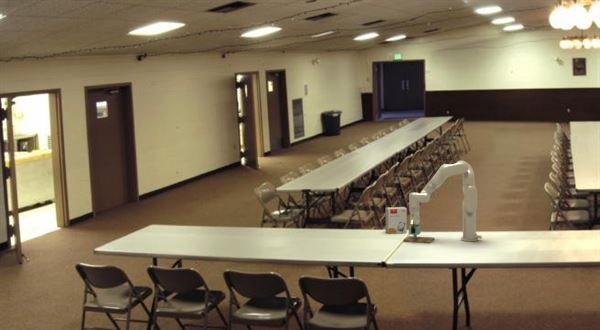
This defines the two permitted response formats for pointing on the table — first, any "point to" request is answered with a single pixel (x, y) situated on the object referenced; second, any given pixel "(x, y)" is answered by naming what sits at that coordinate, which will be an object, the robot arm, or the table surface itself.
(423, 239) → the base board
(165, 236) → the table surface
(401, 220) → the hard drive box
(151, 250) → the table surface
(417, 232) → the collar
